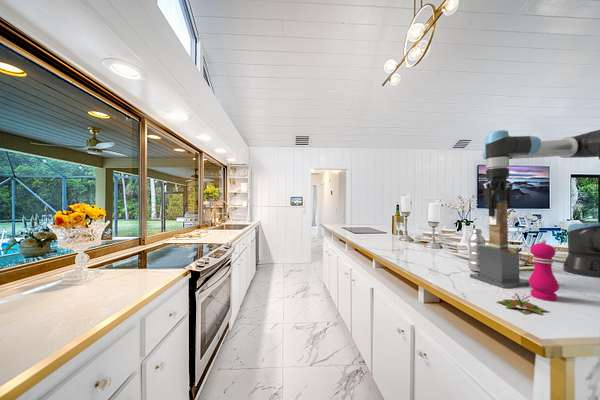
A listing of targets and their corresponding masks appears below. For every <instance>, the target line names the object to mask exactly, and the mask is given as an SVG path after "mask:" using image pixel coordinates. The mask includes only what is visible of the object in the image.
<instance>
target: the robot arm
mask: <svg viewBox="0 0 600 400" xmlns="http://www.w3.org/2000/svg"><path fill="white" fill-rule="evenodd" d="M484 145H485V147H484V149H483V151H482V158H483V159H484V160H485V168H486V170H485V178H486V179H487V182H485V183H482V185H481V187H482V189H483V192H482V193H483V207H484V208H485V209H487V210H488V223H490V224H492V225H497V209H495V208H496V201H507V210H508V209H511V208H512V206H513V205H512V200H513V196H512V195H513V192H512V191H513V190H512V189H513V186H514V184H513V183H509V182H508V180H507V178H509V177H510V168H509V167H510V160H519V159H520V160H521V159H531V158H532V159H533V158H550V157H552V158H553V157H559V158H562V159H568V158H569V159H571V158H573V159H574V158H576V159H577V158H578V159H579V158H598V160H599V161H600V129H596V130H593V131H589V132H585V133H582V134H579V135H575V136H574V135H573V136H567V137H566V136H565V137H562V138H561V139H551V140H549V139H548V140H542V139H540V138H539V137H538V136H536V135H535V136H533V135H521V136H520V135H519V136H518V135H516V136H515V135H513V136H512V135H510V134H509V131H508V130H504V129H503V130H502V129H501V130H494V131H490V132H488V133H487V134H486V135H485V141H484ZM566 234H567V251H568V253H567V254H568V255H567V257H566V258H565V261H564V263H563V266H562V268H563V271H565V272H567V273H571V274H575V275H581V276H586V277H587V276H588V277H594V278H600V222H590V223H589V222H588V223H587V222H585V223H584V222H583V223H571V224H569V225H568V226H567V233H566Z"/></svg>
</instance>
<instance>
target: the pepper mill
mask: <svg viewBox="0 0 600 400" xmlns="http://www.w3.org/2000/svg"><path fill="white" fill-rule="evenodd" d="M530 254H531V255H533V256H532V262H534V268H533V270H532V273H531V275H530V276H529V278H528V281H529V285H530V287H531V288H532V289H530V297H533V298H536V299H538V300H541V301H542V300H543V301H546V302H547V301H549V302H554V301H555V302H556V301H557V300H558V298H557V297H558V295H557V293H556V292H557V291H558V290H559V289H560V288H559V283H558V281H557V279H556V277H555V276H554V273H553V268H552V264H553V263H554V259H553V257H555V255H556V250H555V248H554V247H553V246H552V245H550V244H547V240H546V239H544V238H541V239H540V238H539V240H538V243H534V244H533V245H532V246H531V247H530Z"/></svg>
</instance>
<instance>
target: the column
mask: <svg viewBox="0 0 600 400" xmlns="http://www.w3.org/2000/svg"><path fill="white" fill-rule="evenodd" d="M495 209H497V225H492V224H490V223H489V222H488V223H489V224H488V234H489V237H488V239H489V241H488V242H489V243H488V246H489V247H493V248H498V249H506V248H508V247H509V242H508V241H509V240H508V239H509V238H508V235H509V234H508V233H509V232H508V209H507V201H499V200H497V201H496V208H495Z"/></svg>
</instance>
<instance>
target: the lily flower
mask: <svg viewBox="0 0 600 400" xmlns="http://www.w3.org/2000/svg"><path fill="white" fill-rule="evenodd" d="M520 295H521V293H520ZM520 295H519V294H518V293H517V292H515V295H513V296H511V298H513V299H503V300H500V301H497V303H499V304H502V305H505V306H506V309H512V308H514V309H516V310H517V311H519V312H521V313H522V314H525V315H526V314H529V313H532V312H534V313H537V314H539V315H541V316H544V314H543V313H542V312H548V313H550V311H548V310H546V309H544V308H542V307H537V305H536V304H533V303H530V301H531V300H530V299H529V298H530V297H531V295H528V296H526V297H525V295H523V296H522V297H520ZM518 306H519V307H518ZM523 307H525V309H526V310H522V309H524V308H523Z"/></svg>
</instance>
